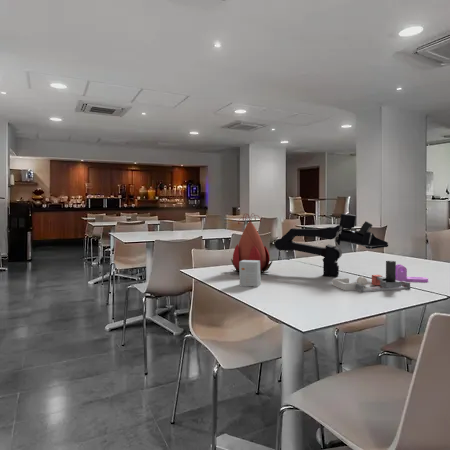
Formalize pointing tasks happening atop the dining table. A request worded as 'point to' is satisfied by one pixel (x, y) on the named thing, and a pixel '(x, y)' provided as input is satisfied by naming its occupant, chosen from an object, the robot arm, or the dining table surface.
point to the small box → (249, 273)
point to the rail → (366, 289)
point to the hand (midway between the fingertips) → (388, 244)
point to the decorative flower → (251, 248)
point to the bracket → (402, 275)
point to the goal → (344, 284)
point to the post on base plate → (387, 276)
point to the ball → (362, 281)
